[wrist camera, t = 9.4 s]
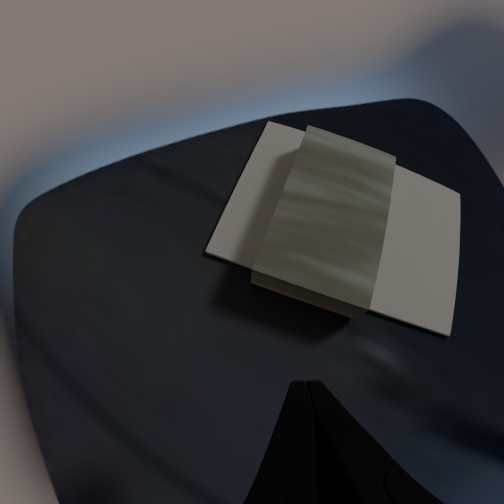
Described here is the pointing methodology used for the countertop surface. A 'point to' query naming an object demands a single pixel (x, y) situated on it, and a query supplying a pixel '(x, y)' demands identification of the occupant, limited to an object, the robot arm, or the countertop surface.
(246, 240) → the mat
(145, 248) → the countertop surface
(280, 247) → the layered block
